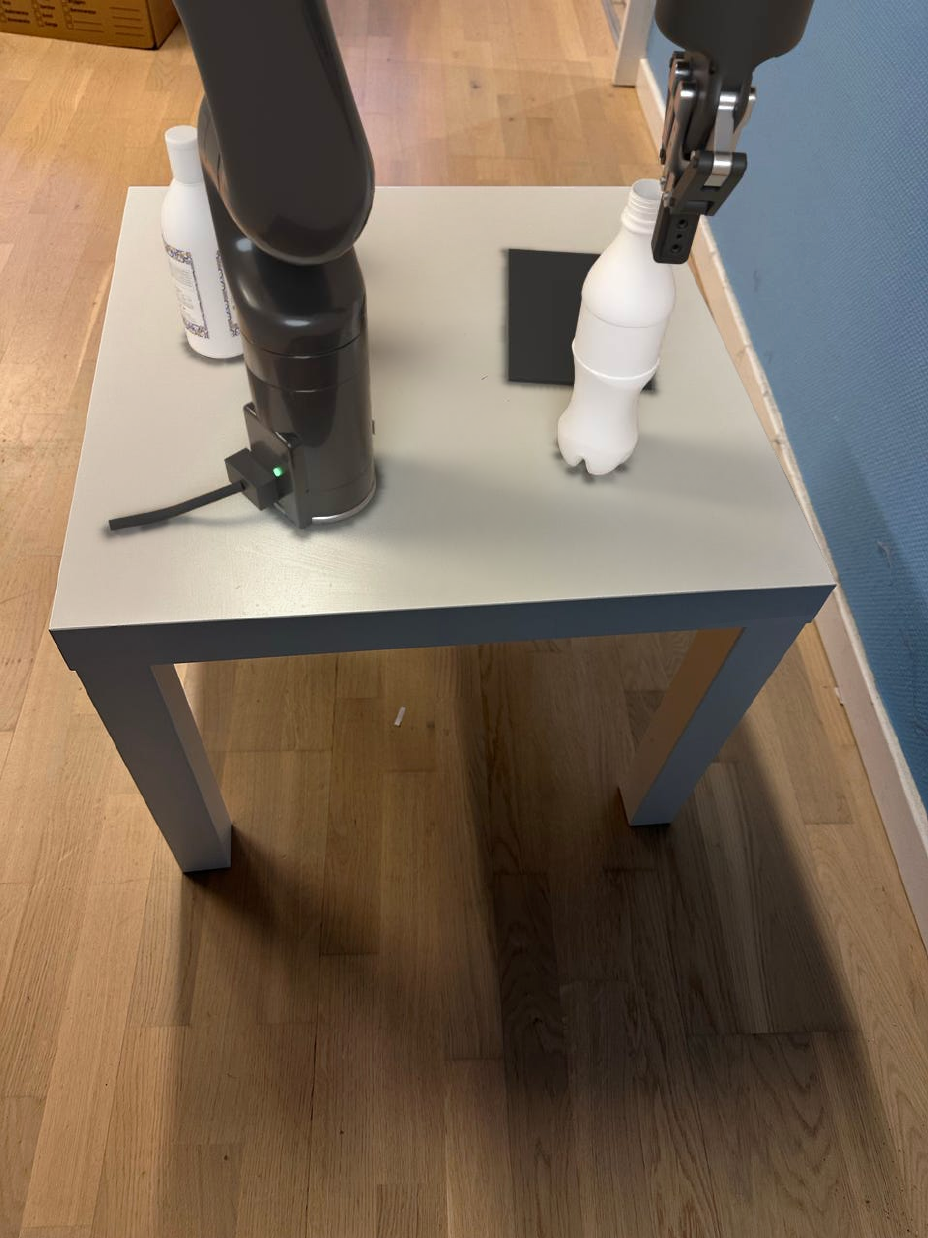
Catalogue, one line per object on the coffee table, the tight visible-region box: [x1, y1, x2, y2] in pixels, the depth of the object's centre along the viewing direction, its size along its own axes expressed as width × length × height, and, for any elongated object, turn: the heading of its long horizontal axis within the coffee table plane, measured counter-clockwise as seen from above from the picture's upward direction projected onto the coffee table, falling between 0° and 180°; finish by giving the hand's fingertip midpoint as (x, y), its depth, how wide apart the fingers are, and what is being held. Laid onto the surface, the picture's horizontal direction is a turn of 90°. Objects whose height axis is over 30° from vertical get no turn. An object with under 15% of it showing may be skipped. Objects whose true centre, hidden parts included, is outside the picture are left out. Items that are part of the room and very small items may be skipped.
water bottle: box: [557, 178, 677, 476], centre depth 72 cm, size 7×7×25 cm
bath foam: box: [160, 124, 244, 359], centre depth 81 cm, size 7×7×20 cm
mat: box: [508, 248, 653, 390], centre depth 94 cm, size 22×14×1 cm, turn 178°
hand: (668, 256), depth 56 cm, fingers closed
